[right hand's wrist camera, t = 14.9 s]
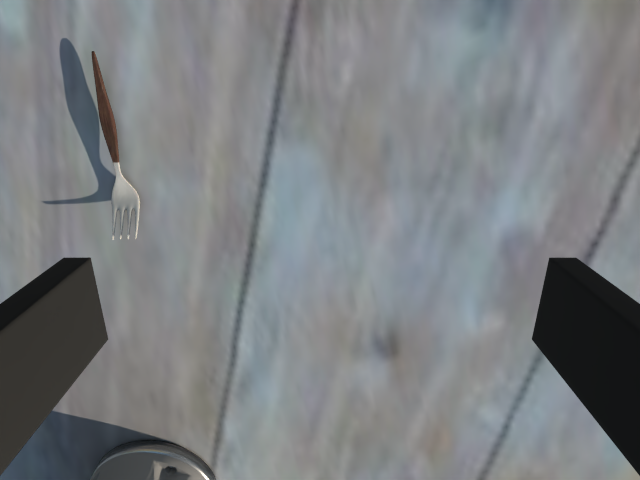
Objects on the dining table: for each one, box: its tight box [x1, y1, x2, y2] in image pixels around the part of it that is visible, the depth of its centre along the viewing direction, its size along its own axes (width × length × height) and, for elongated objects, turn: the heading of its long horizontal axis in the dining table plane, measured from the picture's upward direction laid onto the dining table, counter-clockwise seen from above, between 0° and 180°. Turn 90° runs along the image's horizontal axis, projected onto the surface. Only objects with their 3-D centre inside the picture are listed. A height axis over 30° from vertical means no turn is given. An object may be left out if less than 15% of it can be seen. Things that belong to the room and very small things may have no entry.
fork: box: [92, 51, 140, 240], centre depth 37 cm, size 3×16×2 cm, turn 2°
